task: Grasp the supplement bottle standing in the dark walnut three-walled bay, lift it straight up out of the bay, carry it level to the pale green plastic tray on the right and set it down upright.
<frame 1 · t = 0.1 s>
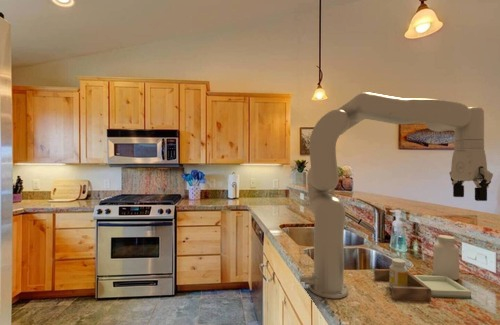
hand: (469, 198, 88), 31 cm above the countertop, tool pointing down, fingers open, 9 cm apart
pill bottle: (445, 276, 103), on the countertop
supplement bottle: (398, 289, 92), on the countertop
bay: (398, 288, 92), on the countertop
tray: (439, 288, 92), on the countertop
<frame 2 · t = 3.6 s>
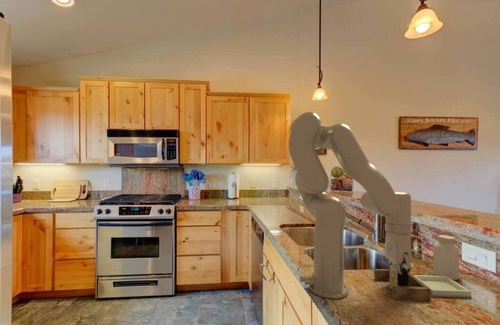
hand: (398, 281, 92), 3 cm above the countertop, tool pointing down, fingers closed on supplement bottle, 5 cm apart
supplement bottle: (398, 289, 92), on the countertop, touching gripper
everything else where it was.
when the fingers open (5 cm above the countertop, at t = 9.4 s): supplement bottle drops 1 cm, resting on tray.
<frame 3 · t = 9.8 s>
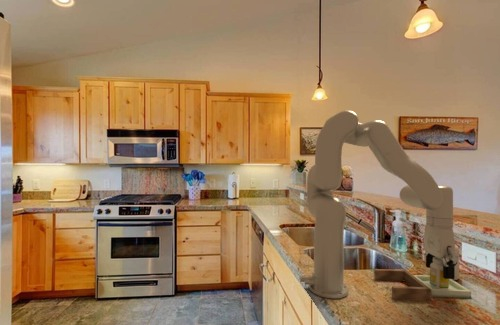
hand: (439, 272, 92), 5 cm above the countertop, tool pointing down, fingers open, 9 cm apart
supplement bottle: (438, 287, 92), resting on tray
everything else where it was.
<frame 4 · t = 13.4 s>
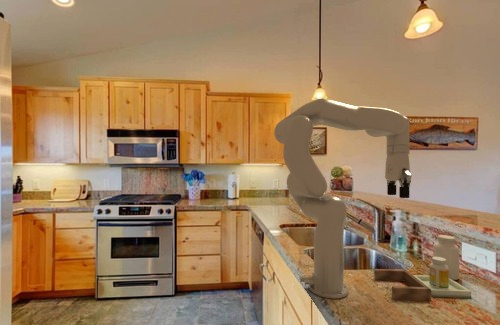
hand: (397, 196, 101), 30 cm above the countertop, tool pointing down, fingers open, 9 cm apart
nothing on the countertop moved.
at the end: supplement bottle inside the target area on the tray (0.2 cm from its centre), point 0.4 cm above the tray's base; supplement bottle tilted 0°; the gripper is holding nothing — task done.
